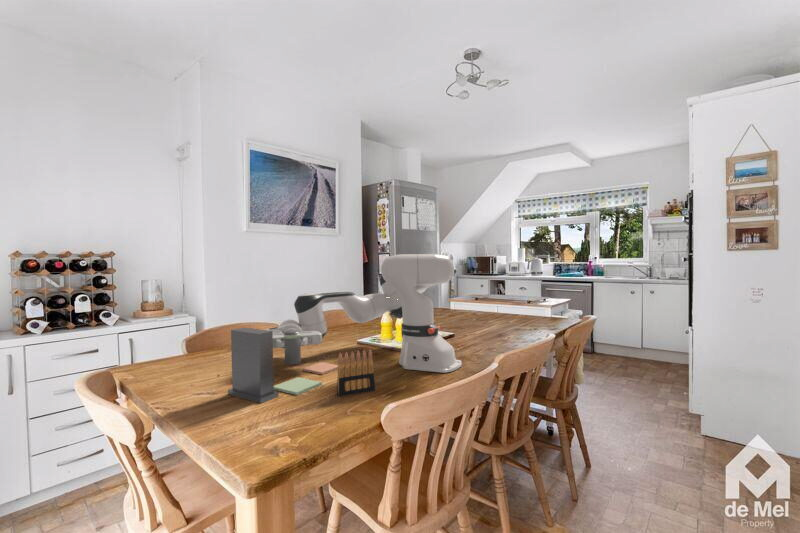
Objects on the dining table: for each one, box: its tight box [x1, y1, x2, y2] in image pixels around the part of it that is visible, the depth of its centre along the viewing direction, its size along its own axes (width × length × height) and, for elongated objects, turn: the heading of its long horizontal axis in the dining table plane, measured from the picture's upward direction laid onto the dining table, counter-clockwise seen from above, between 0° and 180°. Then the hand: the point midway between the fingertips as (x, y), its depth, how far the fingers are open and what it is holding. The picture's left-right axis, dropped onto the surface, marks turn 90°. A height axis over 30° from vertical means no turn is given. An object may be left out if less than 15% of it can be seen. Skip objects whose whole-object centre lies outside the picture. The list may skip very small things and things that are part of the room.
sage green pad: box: [274, 376, 323, 396], centre depth 115 cm, size 10×10×1 cm
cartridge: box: [284, 330, 302, 365], centre depth 126 cm, size 5×5×10 cm
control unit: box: [227, 327, 280, 404], centre depth 108 cm, size 14×6×18 cm, turn 59°
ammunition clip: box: [336, 348, 376, 397], centre depth 110 cm, size 11×2×12 cm, turn 115°
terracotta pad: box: [302, 361, 338, 376], centre depth 133 cm, size 9×9×1 cm
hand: (292, 344), depth 126 cm, fingers closed on cartridge, 5 cm apart
